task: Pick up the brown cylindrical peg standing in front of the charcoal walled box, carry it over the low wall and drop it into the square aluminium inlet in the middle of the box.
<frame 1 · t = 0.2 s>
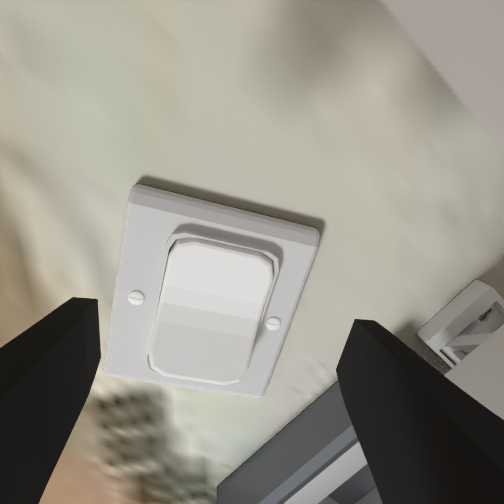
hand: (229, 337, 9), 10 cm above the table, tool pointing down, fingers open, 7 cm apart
light switch: (206, 299, 21), on the table
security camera: (456, 334, 24), on the table
walled box: (349, 465, 26), on the table
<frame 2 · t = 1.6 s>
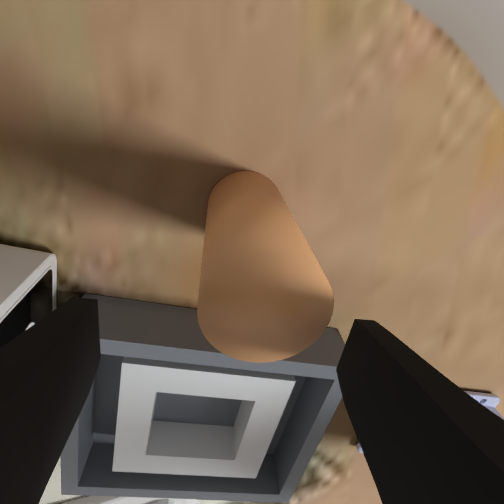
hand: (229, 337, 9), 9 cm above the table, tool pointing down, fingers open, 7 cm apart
walled box: (201, 389, 23), on the table
brown cylindrical peg: (245, 208, 18), on the table
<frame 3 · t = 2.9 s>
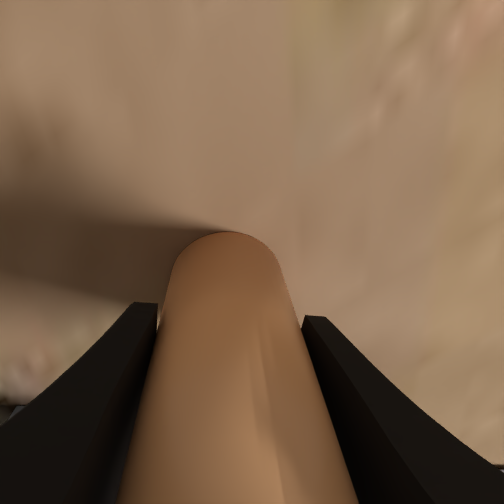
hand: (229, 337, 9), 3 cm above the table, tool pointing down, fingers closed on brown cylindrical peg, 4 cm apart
brown cylindrical peg: (227, 282, 12), on the table, touching gripper
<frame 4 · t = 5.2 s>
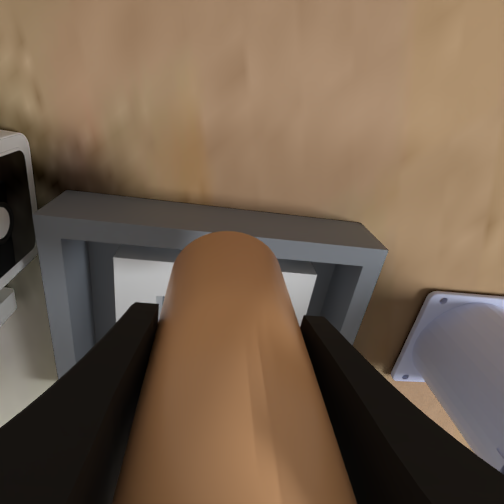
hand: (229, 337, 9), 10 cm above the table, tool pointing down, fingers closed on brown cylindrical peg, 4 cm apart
walled box: (211, 310, 21), on the table
brown cylindrical peg: (226, 281, 12), point 7 cm above the table, touching gripper
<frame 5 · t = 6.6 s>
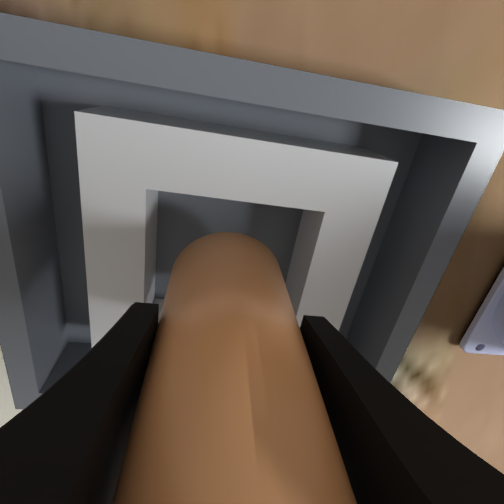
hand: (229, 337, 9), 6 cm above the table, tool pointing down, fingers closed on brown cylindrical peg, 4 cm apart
walled box: (226, 242, 15), on the table
brown cylindrical peg: (226, 282, 12), point 3 cm above the table, touching gripper
when the fingers open (4 cm above the table, at t = 7.5 s): brown cylindrical peg stays where it is, resting on walled box.
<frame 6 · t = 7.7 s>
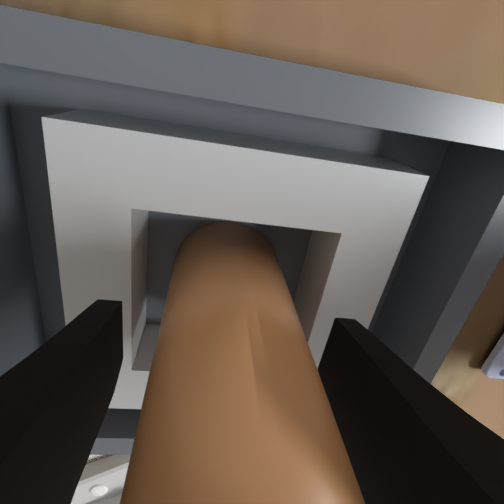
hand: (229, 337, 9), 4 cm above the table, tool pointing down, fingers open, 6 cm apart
light switch: (145, 491, 22), on the table
walled box: (226, 262, 13), on the table
brown cylindrical peg: (226, 269, 13), point 1 cm above the table, touching walled box
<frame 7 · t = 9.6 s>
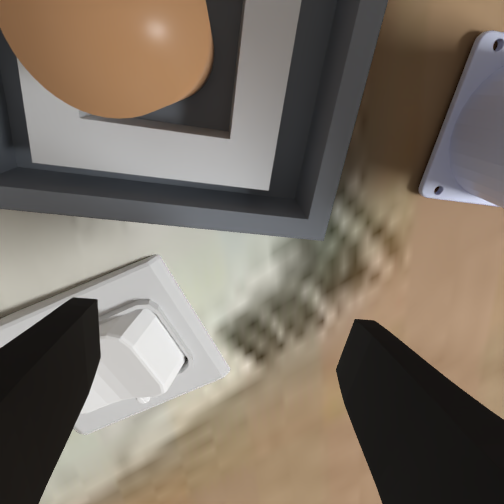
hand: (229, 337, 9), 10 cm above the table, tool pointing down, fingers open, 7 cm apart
light switch: (118, 342, 23), on the table
walled box: (169, 50, 15), on the table
brown cylindrical peg: (168, 49, 14), point 1 cm above the table, touching walled box
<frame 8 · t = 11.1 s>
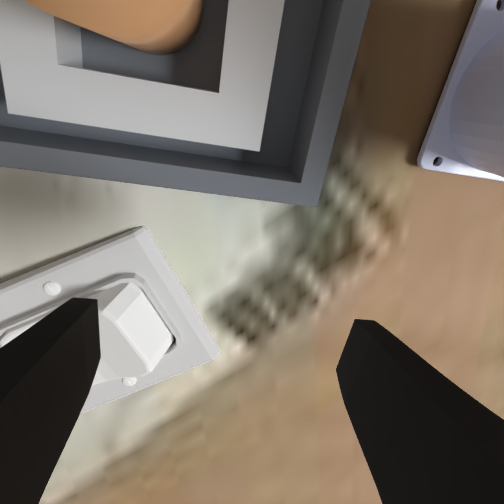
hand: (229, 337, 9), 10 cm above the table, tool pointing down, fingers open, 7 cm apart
light switch: (104, 321, 22), on the table
walled box: (157, 1, 14), on the table
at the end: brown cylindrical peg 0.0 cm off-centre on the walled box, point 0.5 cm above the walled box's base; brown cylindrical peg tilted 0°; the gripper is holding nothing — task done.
